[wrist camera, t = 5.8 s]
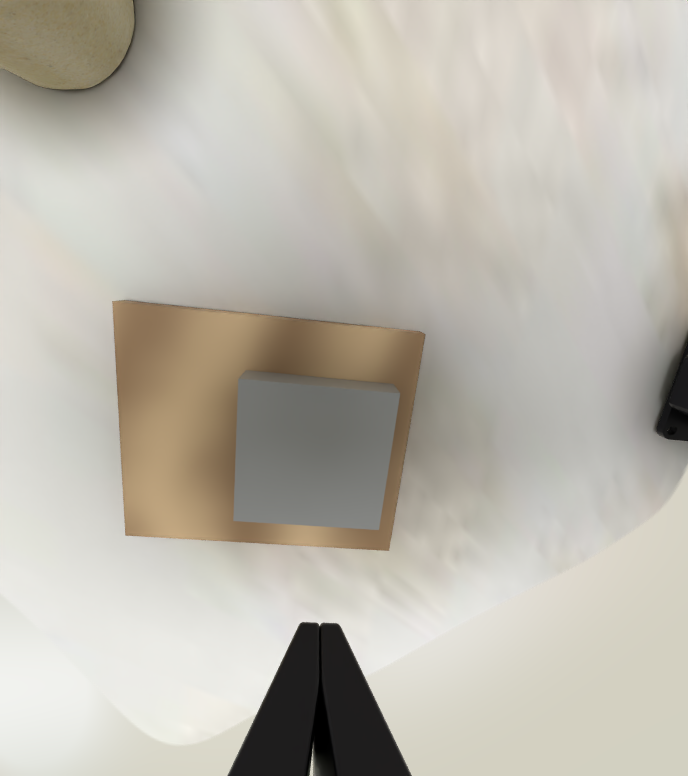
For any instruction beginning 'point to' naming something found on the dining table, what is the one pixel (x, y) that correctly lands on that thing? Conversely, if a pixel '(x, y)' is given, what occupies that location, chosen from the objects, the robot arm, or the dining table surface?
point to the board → (234, 412)
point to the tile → (312, 450)
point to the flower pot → (64, 40)
